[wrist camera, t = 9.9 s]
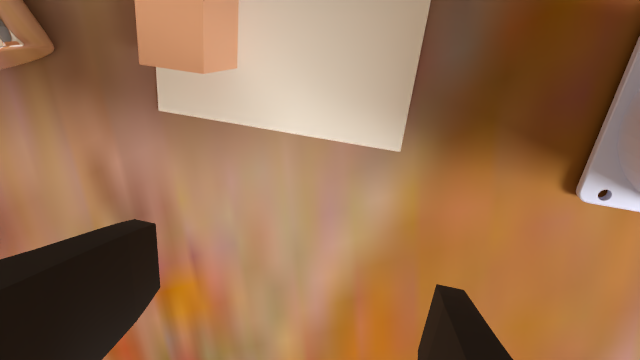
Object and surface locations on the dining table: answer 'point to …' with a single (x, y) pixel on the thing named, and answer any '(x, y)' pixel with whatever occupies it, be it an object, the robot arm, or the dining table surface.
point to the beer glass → (20, 35)
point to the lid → (288, 63)
